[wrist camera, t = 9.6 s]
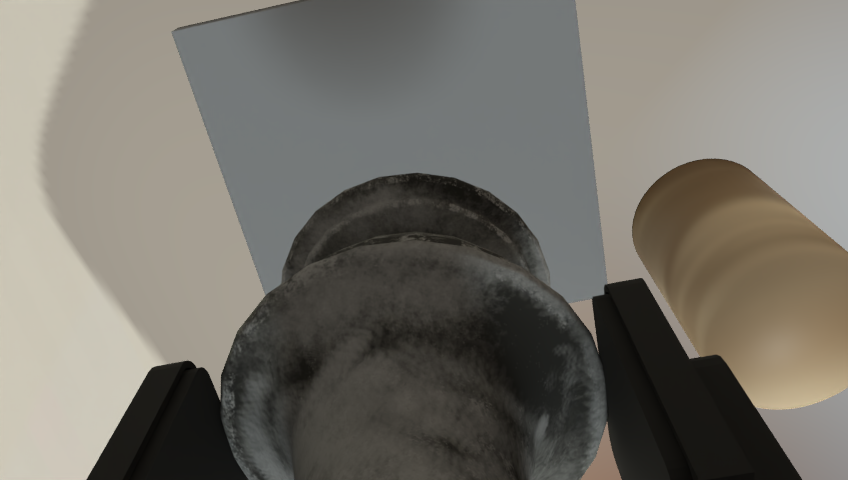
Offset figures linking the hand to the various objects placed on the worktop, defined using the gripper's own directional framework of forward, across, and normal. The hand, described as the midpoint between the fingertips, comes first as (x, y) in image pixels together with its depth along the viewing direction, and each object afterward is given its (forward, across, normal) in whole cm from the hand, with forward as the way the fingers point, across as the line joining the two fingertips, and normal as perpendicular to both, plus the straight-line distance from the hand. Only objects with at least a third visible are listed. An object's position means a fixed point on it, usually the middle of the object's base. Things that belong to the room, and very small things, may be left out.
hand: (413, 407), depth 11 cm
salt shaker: (+4, 0, 0) cm, 4 cm away
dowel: (+10, -8, +3) cm, 13 cm away
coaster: (+10, 0, 0) cm, 10 cm away
